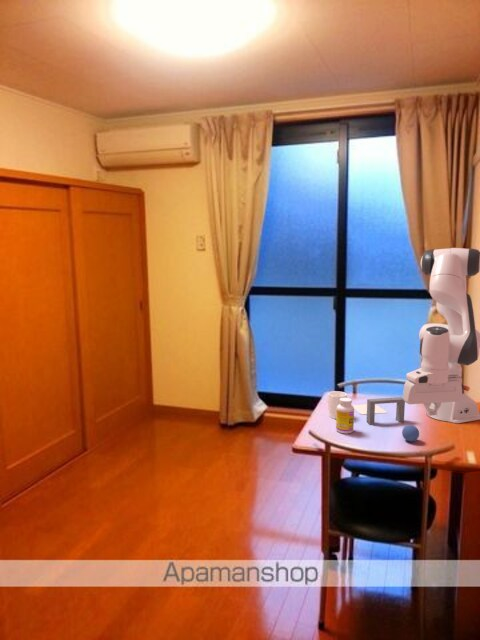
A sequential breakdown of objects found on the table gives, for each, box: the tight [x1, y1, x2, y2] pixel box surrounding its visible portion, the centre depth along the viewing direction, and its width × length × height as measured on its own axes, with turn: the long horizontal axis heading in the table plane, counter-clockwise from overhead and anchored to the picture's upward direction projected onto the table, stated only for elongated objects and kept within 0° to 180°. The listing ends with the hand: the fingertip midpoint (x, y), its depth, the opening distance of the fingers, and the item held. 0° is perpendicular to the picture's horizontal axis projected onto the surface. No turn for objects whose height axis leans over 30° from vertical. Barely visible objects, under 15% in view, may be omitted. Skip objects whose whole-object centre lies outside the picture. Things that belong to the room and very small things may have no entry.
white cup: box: [327, 390, 348, 420], centre depth 208 cm, size 8×8×10 cm
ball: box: [401, 424, 420, 443], centre depth 182 cm, size 6×6×6 cm
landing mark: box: [351, 403, 388, 416], centre depth 218 cm, size 12×12×1 cm
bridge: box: [366, 396, 406, 425], centre depth 201 cm, size 3×15×10 cm, turn 100°
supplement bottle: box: [335, 397, 355, 435], centre depth 192 cm, size 7×7×13 cm
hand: (431, 414), depth 168 cm, fingers closed
